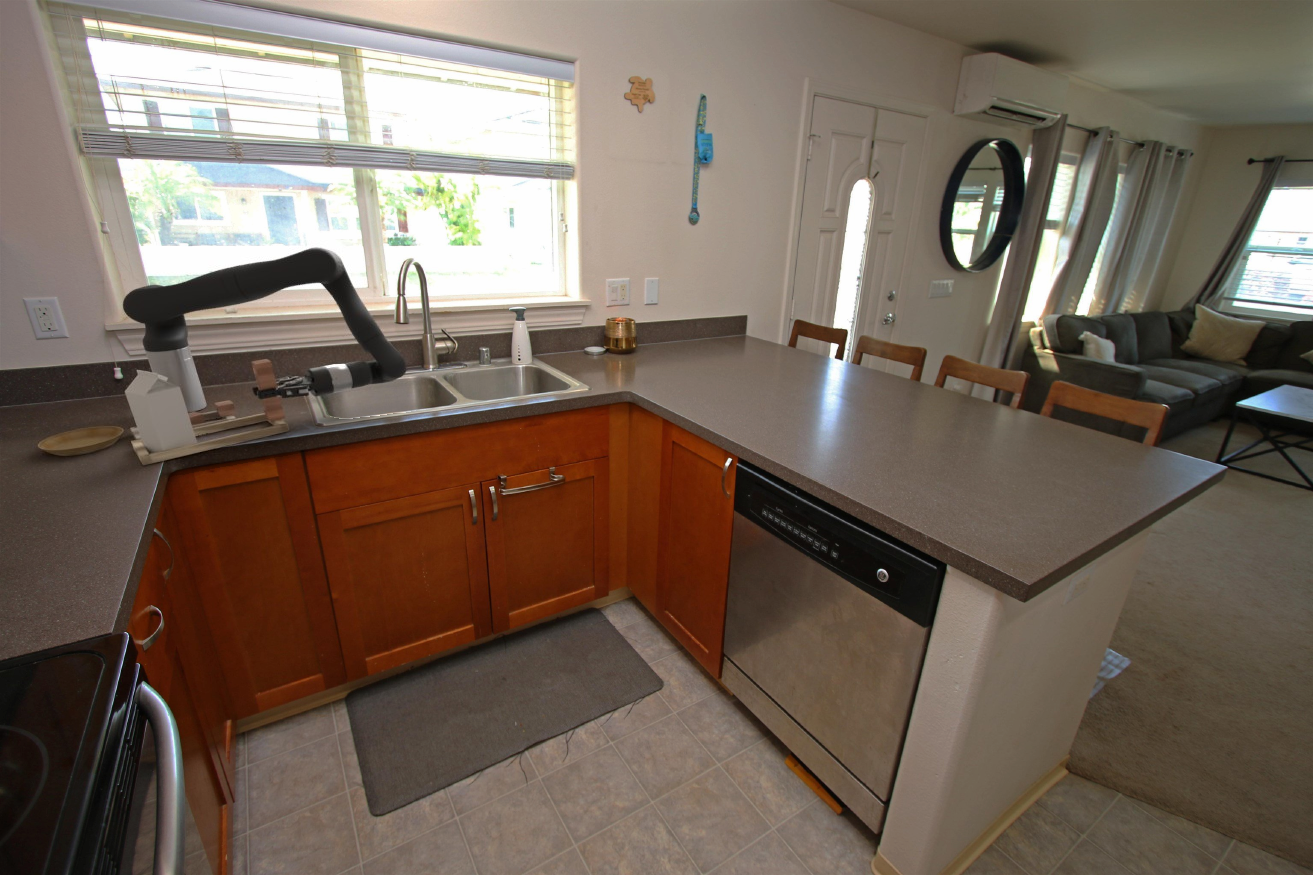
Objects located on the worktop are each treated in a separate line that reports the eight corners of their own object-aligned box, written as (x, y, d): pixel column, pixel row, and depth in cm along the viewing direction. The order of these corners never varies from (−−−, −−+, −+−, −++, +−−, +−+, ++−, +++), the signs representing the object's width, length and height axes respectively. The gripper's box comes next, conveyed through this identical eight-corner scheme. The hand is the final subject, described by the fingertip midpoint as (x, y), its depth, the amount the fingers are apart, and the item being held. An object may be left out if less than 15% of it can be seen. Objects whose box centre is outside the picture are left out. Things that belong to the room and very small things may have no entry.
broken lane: (132, 434, 144) (125, 416, 142) (231, 414, 158) (226, 397, 156) (139, 445, 138) (132, 426, 136) (241, 423, 152) (236, 406, 150)
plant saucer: (119, 431, 147) (115, 421, 146) (133, 446, 138) (130, 435, 137) (37, 448, 136) (33, 438, 135) (47, 466, 128) (43, 455, 127)
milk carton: (165, 459, 131) (138, 377, 124) (146, 454, 134) (118, 374, 126) (199, 447, 137) (174, 369, 130) (179, 443, 140) (154, 366, 132)
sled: (133, 448, 136) (108, 378, 129) (276, 416, 156) (260, 355, 149) (143, 465, 127) (117, 391, 121) (293, 429, 147) (277, 365, 141)
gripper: (317, 361, 160) (243, 373, 148) (336, 371, 151) (260, 384, 139) (322, 387, 162) (251, 401, 151) (342, 398, 153) (267, 414, 142)
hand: (255, 393), depth 145 cm, fingers closed on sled, 3 cm apart
